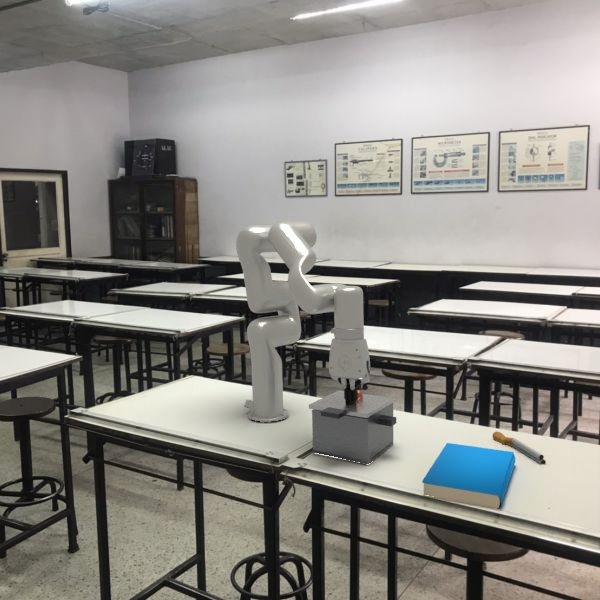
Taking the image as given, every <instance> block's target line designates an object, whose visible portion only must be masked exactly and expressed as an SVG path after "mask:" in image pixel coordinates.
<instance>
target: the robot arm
mask: <svg viewBox="0 0 600 600" xmlns="http://www.w3.org/2000/svg"><path fill="white" fill-rule="evenodd" d="M236 236H237V237H236V241H235V244H236V246H235V247H236V254H237V257H238V260H239V262H240V265H241V269H242V273H243V281H244V287H245V292H246V300H247V305H248V308H249V309H250V310H249V311H251V312H252V313H255V314H267V313H273V312H277V314H278V315H271V316H264V317H259V318H256V319H253V320H252V321H250V323H249V324H248V326H247V328H246V337H247V341H248V345H249V352H250V360H251V361H250V362H251V388H252V399H246V400H245V402H244V404H243V407H244V408H247V409H249V412H248V414H247V416H249V417H248V419H249V418H250V419H249V420H251V419H252V420H255V421H254V422H256V421H260V422H259V423H264V422H268V423H272V422H271V421H277V422H279V421H278V420H281V421H283V420H282V419H284V418H286V417H287V416H288V417H289V411H288V410H287V409H285V408H284V394H283V393H284V389H283V388H284V387H283V385H284V384H283V361H282V358H281V356H280V354H279V353H278V351H277V350H276V348H278V347H282V346H287V345H292V344H295V343H297V342H298V341H299V340H300V338H301V334H302V326H301V323H302V322H301V317H300V310H299V307H300V309H301V310H302V311H304V312H305V313H306V314H309V315H317V314H323V313H325V314H326V313H333V315H334V316H333V318H334V327H333V328H330V334H333V337H334V338H331V342H330V349H329V356H328V359H329V360H328V371H329V375H330V376H331V377H330V378H331V379H332V380H334V381H336V382H338V383H339V384H340V385H341V388H342V389H343V391H344V399H345V403H346V404H350V405H352V404H353V403H355V402H356V400H357V390H358V388H359V387H360V386H361V385H363V384H367V383H370V382H371V379H370V374H371V361H370V359H371V358H370V351H369V345H368V342H367V339H366V338H365V331H364V330H365V327H364V326H365V325H364V324H365V323H364V291H363V289H362V287H360V286H358V285H346V284H343V283H339V282H338V283H337V282H336V283H334V282H333V283H322V284H313V285H311V283H309V281H308V279H306V277H305V274H307V273H308V272H310V271H311V269H313V267H314V266H315V264H316V261H317V254H316V252H315V251H314V250H313V248H314V246H315V245H316V242H317V239H318V237H317V231H316V228H315V227H314V226H313V225H312V224H311V223H310V222H309V221H305V220H289V221H288V220H286V221H279V222H277V223H274V224H254V225H248V226H246V227H245V226H244V227H243V228H242V229H240V231H238V234H237V235H236ZM262 253H263V254H264V253H277V254H278V256H279V257H280V258H281V260H282V262H283V263H284V264H285V265H286V267H287V268H288V269H289V271H288V275H287V280H275V281H273V277H272V272H271V271H272V270H271V267H270V264H269V262H268V261H267V260H266V259H265V257H264V256H262ZM288 417H287V418H288ZM287 418H286V419H287ZM252 420H251V421H252ZM284 420H285V419H284Z"/></svg>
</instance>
